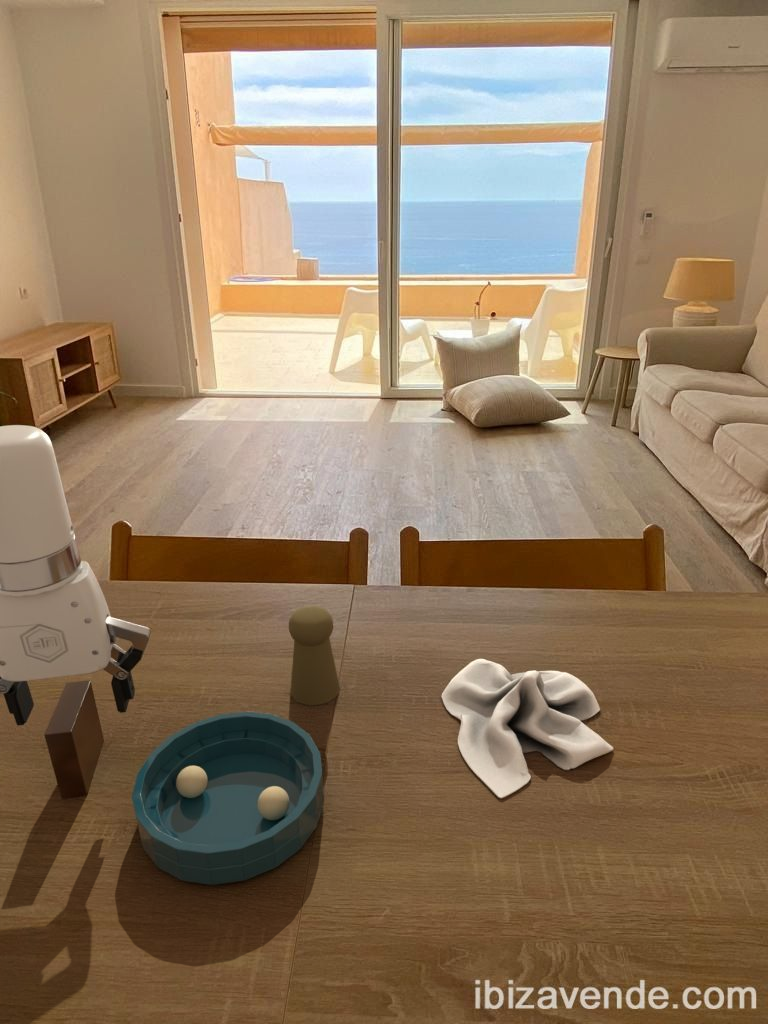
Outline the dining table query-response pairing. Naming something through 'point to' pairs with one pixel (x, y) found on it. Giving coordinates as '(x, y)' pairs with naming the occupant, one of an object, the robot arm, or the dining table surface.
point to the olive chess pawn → (313, 657)
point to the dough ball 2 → (273, 803)
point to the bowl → (228, 797)
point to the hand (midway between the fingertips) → (76, 709)
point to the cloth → (520, 721)
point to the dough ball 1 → (191, 781)
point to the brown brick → (74, 739)
